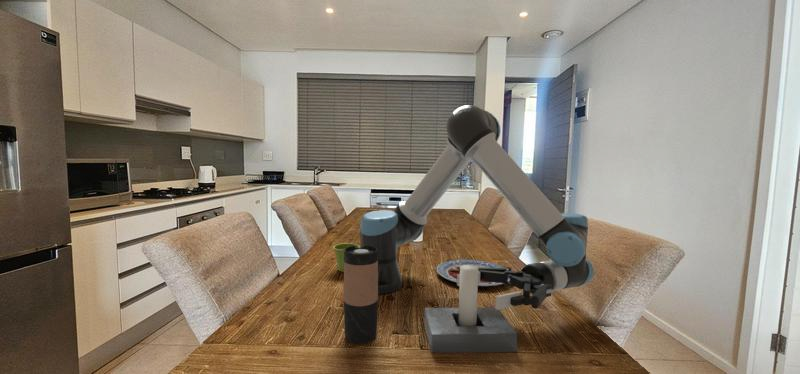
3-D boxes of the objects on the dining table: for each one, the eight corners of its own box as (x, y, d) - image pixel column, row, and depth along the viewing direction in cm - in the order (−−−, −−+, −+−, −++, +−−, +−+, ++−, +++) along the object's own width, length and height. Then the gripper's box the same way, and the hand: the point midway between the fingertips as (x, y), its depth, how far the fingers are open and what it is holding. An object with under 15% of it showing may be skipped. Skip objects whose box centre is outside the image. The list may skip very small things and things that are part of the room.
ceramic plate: (455, 295, 95) (456, 286, 95) (426, 267, 120) (426, 260, 119) (529, 287, 102) (529, 278, 102) (486, 262, 127) (486, 255, 126)
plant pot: (349, 263, 122) (349, 241, 122) (364, 269, 116) (364, 246, 115) (328, 269, 116) (328, 246, 115) (343, 276, 109) (343, 251, 108)
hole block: (431, 352, 66) (431, 334, 65) (424, 323, 78) (424, 307, 77) (516, 351, 66) (517, 333, 66) (496, 322, 78) (497, 307, 78)
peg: (455, 338, 71) (457, 268, 70) (461, 330, 75) (463, 264, 74) (473, 343, 69) (475, 272, 68) (478, 334, 73) (480, 267, 72)
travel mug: (363, 349, 67) (363, 256, 65) (336, 338, 71) (336, 250, 69) (384, 332, 73) (385, 248, 72) (358, 323, 77) (358, 243, 76)
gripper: (589, 312, 69) (516, 334, 60) (506, 275, 92) (444, 286, 83) (591, 279, 69) (518, 295, 60) (507, 250, 91) (445, 259, 82)
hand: (475, 290), depth 71 cm, fingers open, 13 cm apart
